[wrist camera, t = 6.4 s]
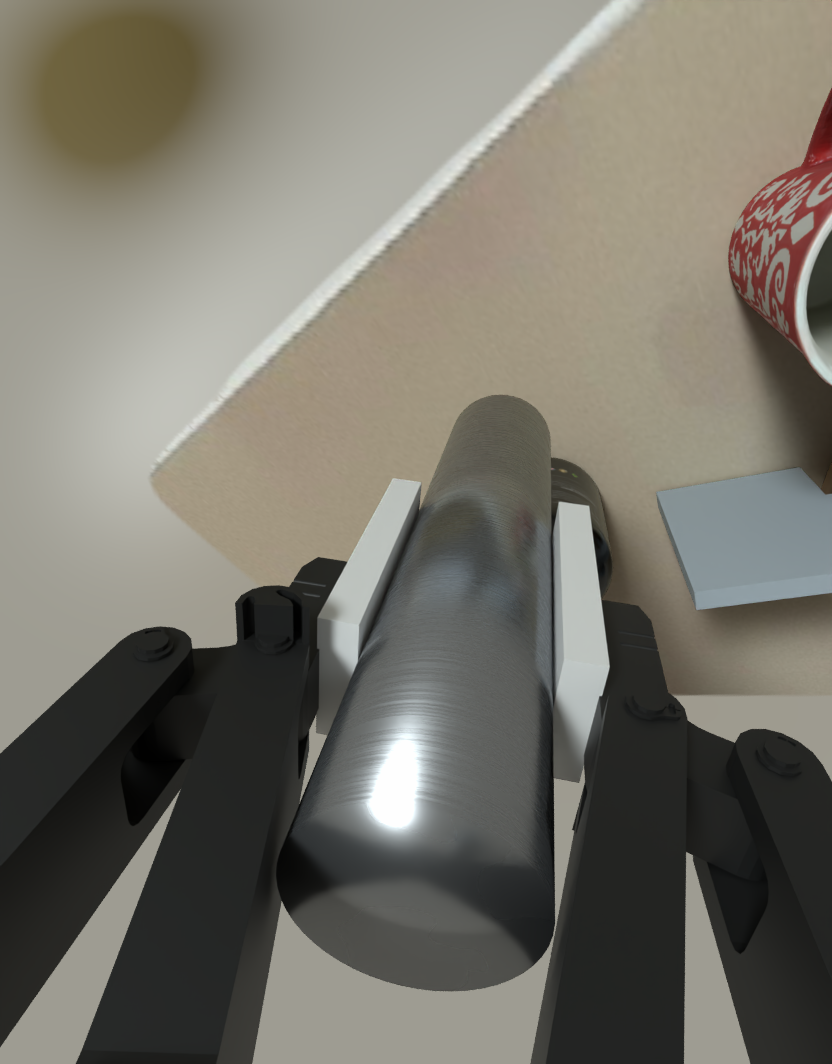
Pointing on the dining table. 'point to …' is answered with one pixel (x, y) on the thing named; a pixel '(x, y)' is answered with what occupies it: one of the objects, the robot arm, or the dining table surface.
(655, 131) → the dining table surface
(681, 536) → the hinge leaf swing
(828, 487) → the brown frame with handle
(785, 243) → the mug
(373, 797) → the hinge pin
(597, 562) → the supplement bottle
